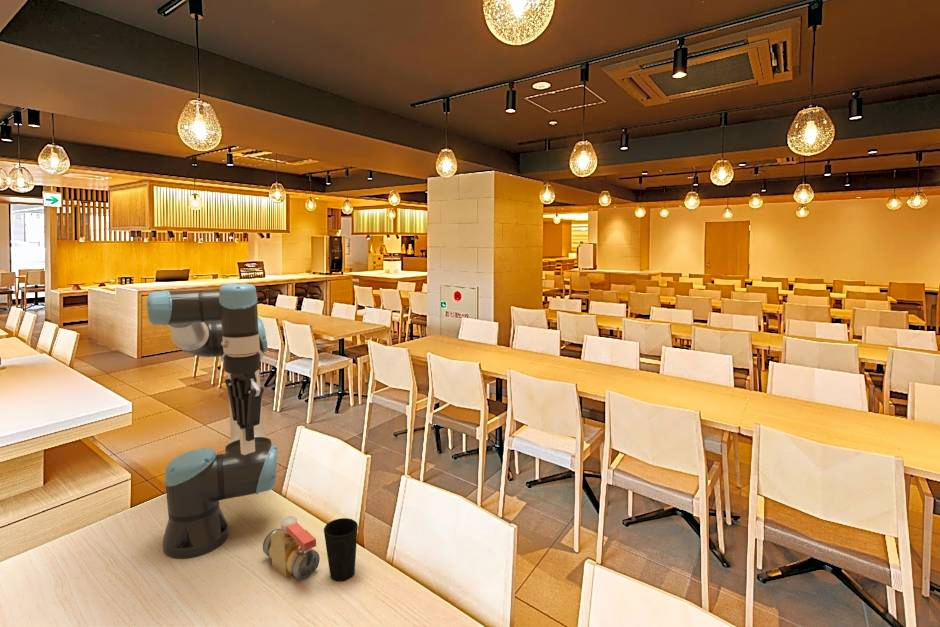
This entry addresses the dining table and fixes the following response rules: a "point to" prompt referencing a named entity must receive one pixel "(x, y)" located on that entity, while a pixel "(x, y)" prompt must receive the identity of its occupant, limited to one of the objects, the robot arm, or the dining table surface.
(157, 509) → the dining table surface
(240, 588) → the dining table surface
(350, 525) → the cup
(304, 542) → the lever
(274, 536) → the valve body
